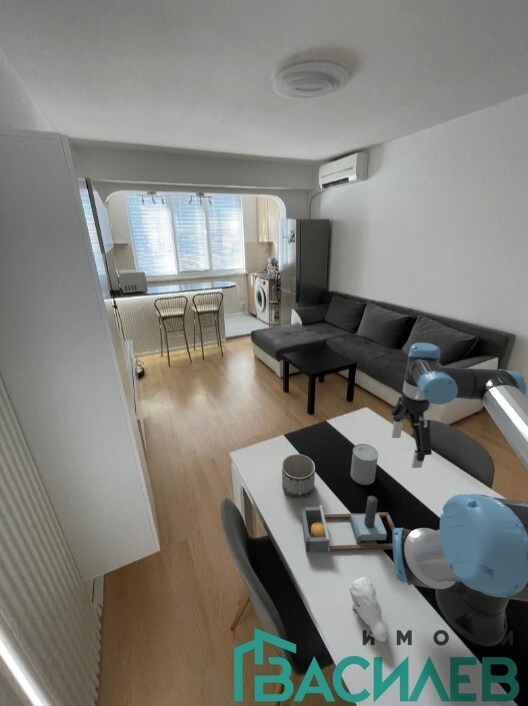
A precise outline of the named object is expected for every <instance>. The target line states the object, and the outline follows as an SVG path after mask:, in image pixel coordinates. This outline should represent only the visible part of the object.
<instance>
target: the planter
mask: <svg viewBox="0 0 528 706" xmlns="http://www.w3.org/2000/svg"><path fill="white" fill-rule="evenodd" d="M315 464H316V463H315V462H314V461H313V460H312V459H311V458H310V457H309V456H307V455H305V454H301V453H300V454H297V453H294V454H291V455H289V456H286V457H285V458H284V459H283V461H282V464H281V479H282V481H281V484H282V487H283V489H284V492H285V493H287V494H289V496H291V497H296V498H304V497H307V496H309V495H311V493H312V492H313V491H314V488H315V479H316V477H315V476H316V465H315Z"/></svg>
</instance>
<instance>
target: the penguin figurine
mask: <svg viewBox="0 0 528 706" xmlns="http://www.w3.org/2000/svg"><path fill="white" fill-rule="evenodd" d="M348 588H349V594H350V595H351V608H352V610H355V611H356V612H357V613H358V615H359V617H360V618H361V619H362V620H363V622H365V624H367V625H368V626H369V628H370V631H371V632H370V633H368V634H369V636H371V638H374V639H375V640H377V641H378V642H380V643H381V642H382V643H383V642H386V640H387V638H388V635H389V633H388V628H387V626H386V624H385V623H384V621H383V620H382V619H383V618H382V607H381V605H380V603H379V602H378V600H377V593H376V588H375V587H374V585H373V584H372V582H371V581H370V579H369V578H368V577H367V576H361V577H359V578H356V579H354V580H353V581H352V583H351V584H350V585H349V586H348Z"/></svg>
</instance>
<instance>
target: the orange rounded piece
mask: <svg viewBox="0 0 528 706" xmlns="http://www.w3.org/2000/svg"><path fill="white" fill-rule="evenodd" d="M310 534H311V538H315V537H326V536H325V531H324V526H323V522H321V521H316V522H313V523H312V524H311V529H310Z"/></svg>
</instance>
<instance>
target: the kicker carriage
mask: <svg viewBox="0 0 528 706" xmlns="http://www.w3.org/2000/svg"><path fill="white" fill-rule="evenodd" d="M378 503H379V500H378V498H377V497H376V496H374V495H369V496H367V499H366V507H365V513H366V514H365V515H354V514H353V513H349V514H350V519H349V523H350V526H351V529H352V533H353V535H354V540H355V542H356V544H361V542H364V541H386V540H387V535H388V534H387V530H386V527H385V526H384V524H383V520H382V518H380V516H379V514H376V513H377V507H378Z"/></svg>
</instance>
